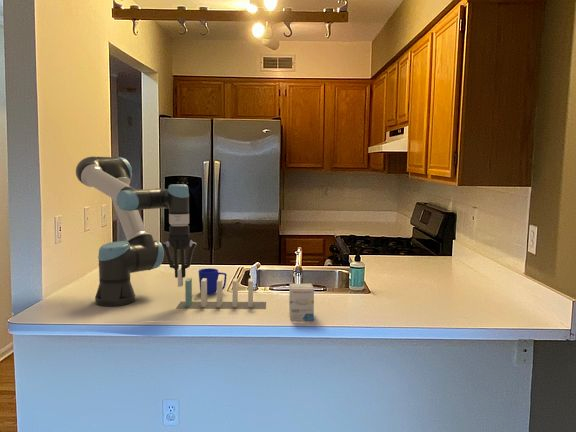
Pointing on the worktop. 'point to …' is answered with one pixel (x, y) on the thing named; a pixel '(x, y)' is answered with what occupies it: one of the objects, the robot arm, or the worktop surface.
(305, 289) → the ink box
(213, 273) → the mug
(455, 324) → the worktop surface
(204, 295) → the domino
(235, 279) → the domino
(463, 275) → the worktop surface
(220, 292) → the domino
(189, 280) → the green domino
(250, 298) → the domino
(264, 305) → the mat
